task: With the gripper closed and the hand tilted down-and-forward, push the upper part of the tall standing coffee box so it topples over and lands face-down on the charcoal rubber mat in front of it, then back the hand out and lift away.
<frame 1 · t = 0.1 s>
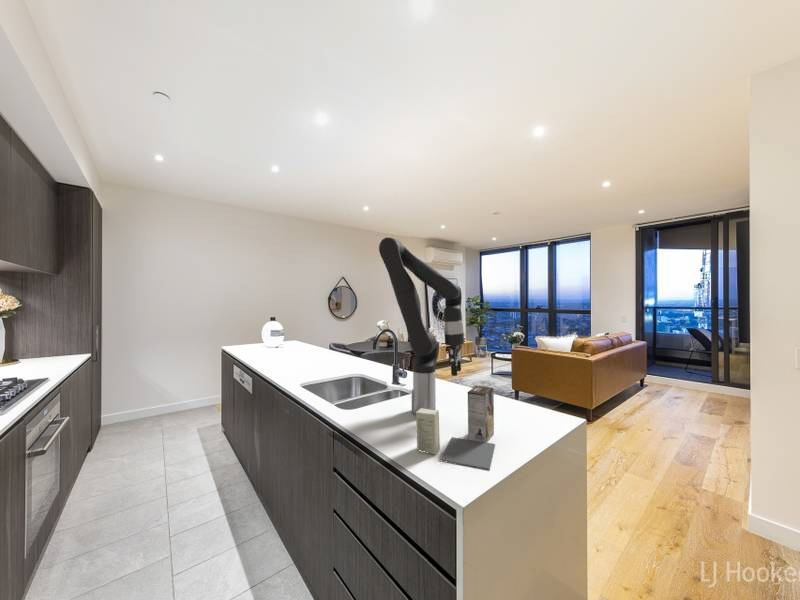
hand: (456, 373, 126), 17 cm above the countertop, tool pointing down, fingers open, 8 cm apart
coffee box: (481, 437, 108), on the countertop
mat: (468, 452, 97), on the countertop
skincare box: (428, 450, 99), on the countertop
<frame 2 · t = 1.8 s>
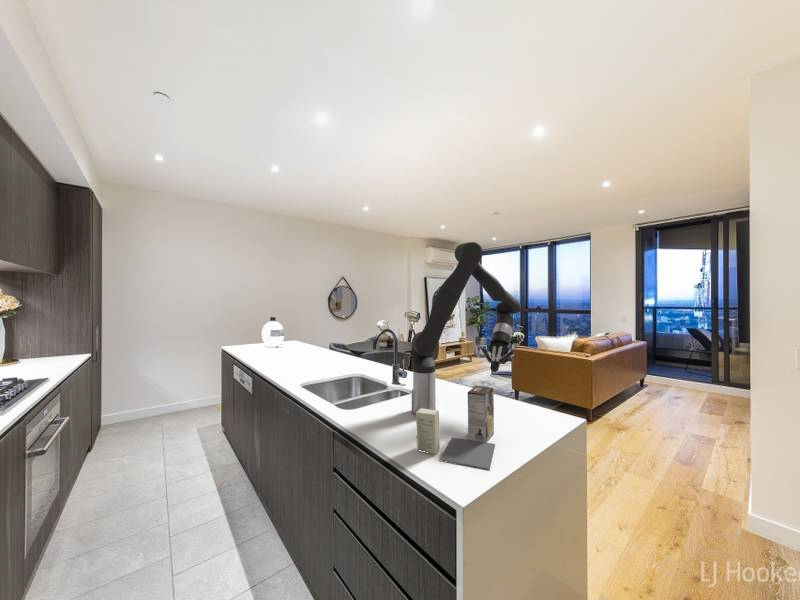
hand: (493, 371, 122), 19 cm above the countertop, tool tilted 45°, fingers closed
nothing on the countertop moved.
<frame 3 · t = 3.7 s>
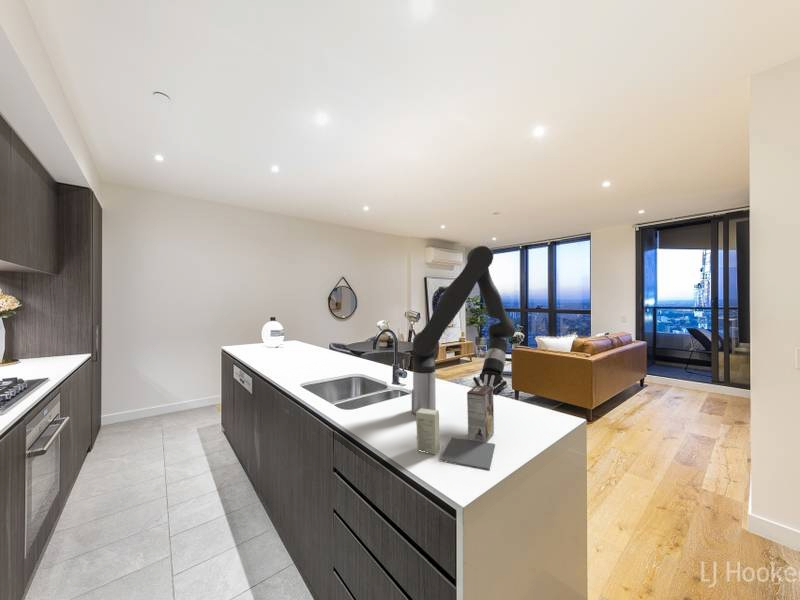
hand: (485, 403, 112), 10 cm above the countertop, tool tilted 45°, fingers closed
coffee box: (481, 436, 108), on the countertop, touching gripper
everything else where it was.
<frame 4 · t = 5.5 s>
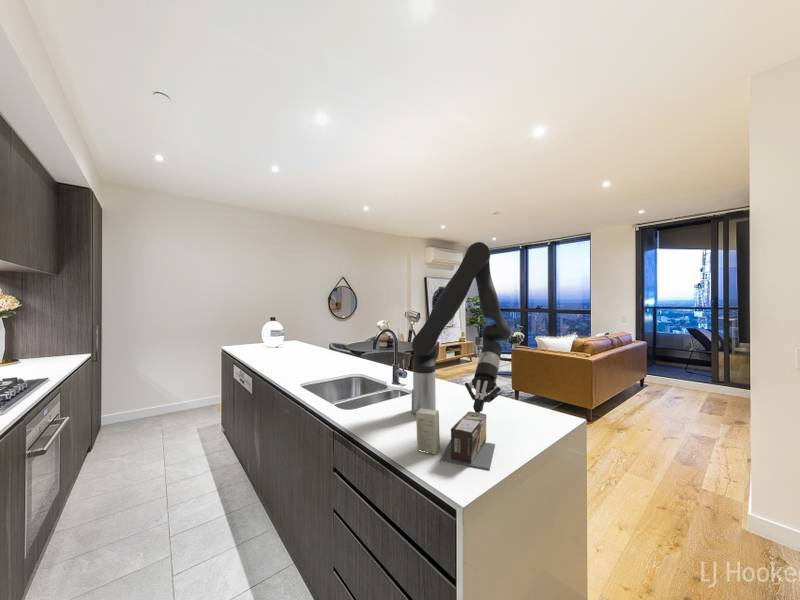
hand: (477, 411, 104), 10 cm above the countertop, tool tilted 45°, fingers closed
coffee box: (477, 426, 105), point 5 cm above the countertop, touching gripper, mat
everything else where it was.
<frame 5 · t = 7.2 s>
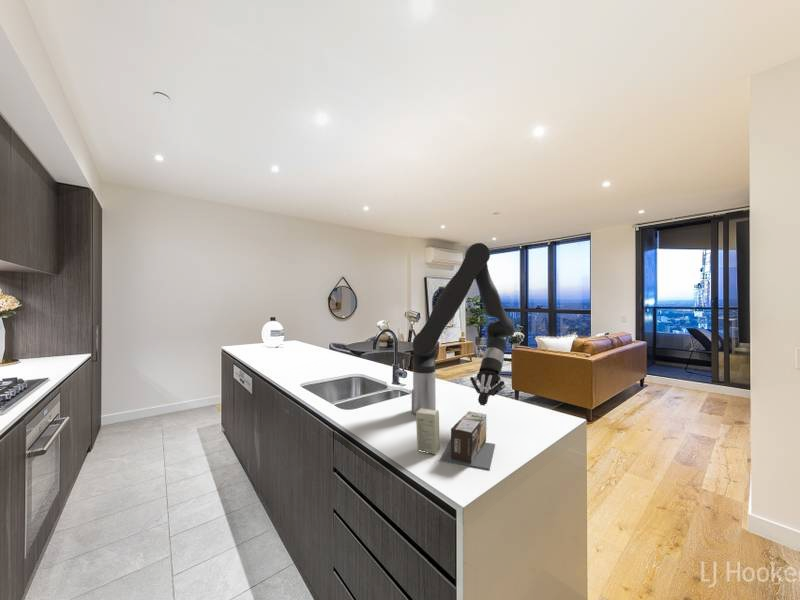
hand: (481, 404, 109), 11 cm above the countertop, tool tilted 45°, fingers closed
coffee box: (477, 426, 105), point 5 cm above the countertop, touching mat
everything else where it was.
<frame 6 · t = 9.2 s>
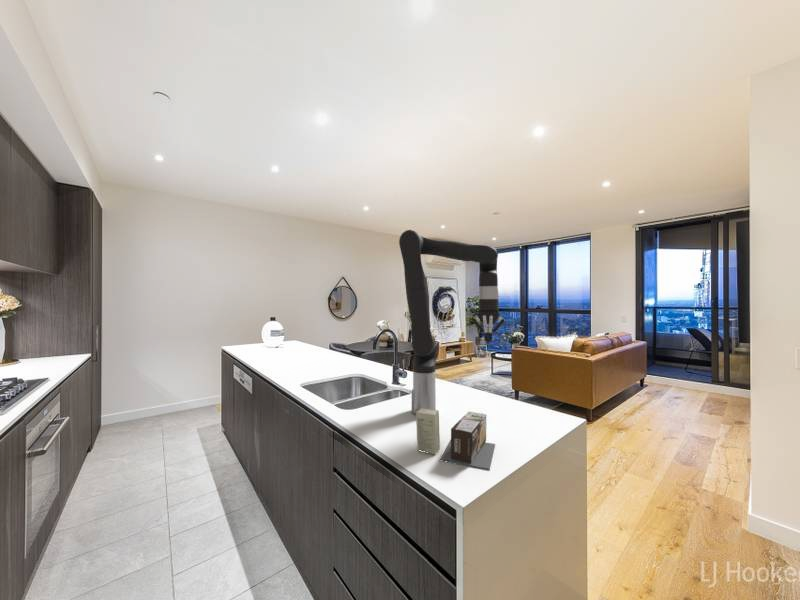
hand: (488, 342, 125), 30 cm above the countertop, tool pointing down, fingers closed
nothing on the countertop moved.
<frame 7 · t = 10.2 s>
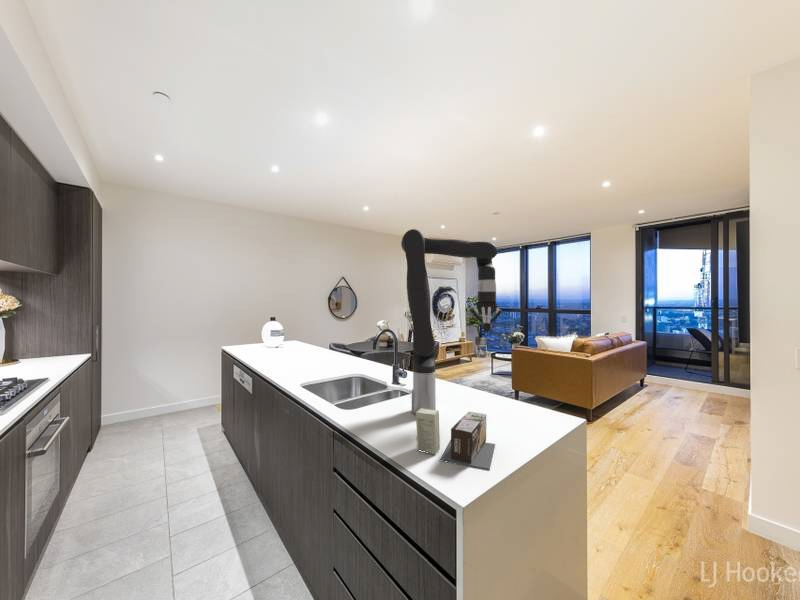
hand: (487, 332, 134), 33 cm above the countertop, tool pointing down, fingers closed
nothing on the countertop moved.
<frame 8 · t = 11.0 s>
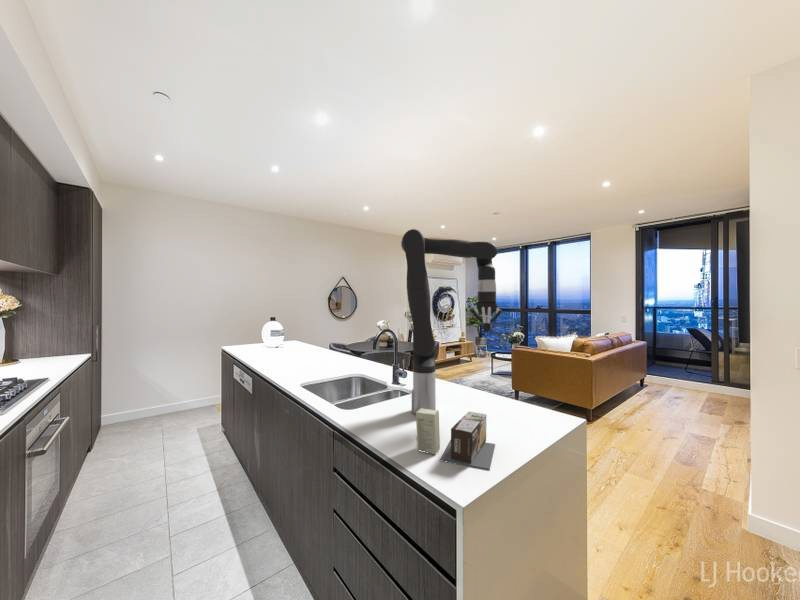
hand: (487, 332, 134), 33 cm above the countertop, tool pointing down, fingers closed
nothing on the countertop moved.
at the end: coffee box tilted 89°; coffee box touching mat; coffee box inside the target area (8.7 cm from its centre), point 4.9 cm above the countertop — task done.
